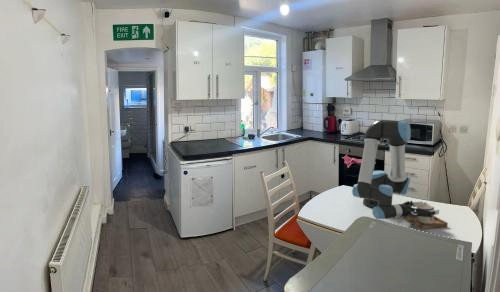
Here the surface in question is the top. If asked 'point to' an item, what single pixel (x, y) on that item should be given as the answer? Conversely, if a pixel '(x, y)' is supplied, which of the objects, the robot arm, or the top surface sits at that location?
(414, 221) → the tray
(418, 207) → the teacup with lid
